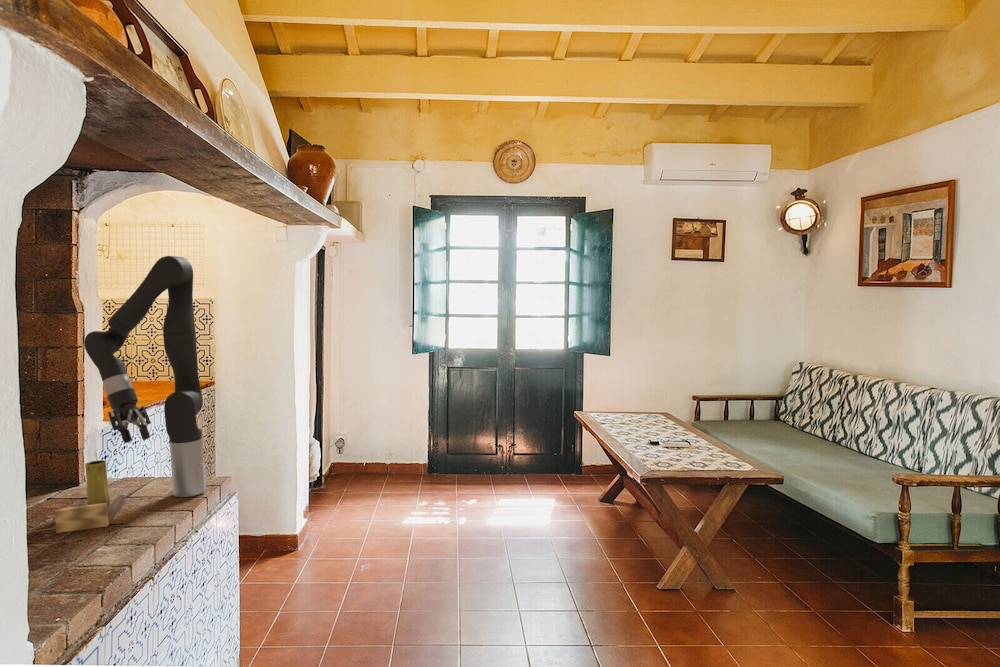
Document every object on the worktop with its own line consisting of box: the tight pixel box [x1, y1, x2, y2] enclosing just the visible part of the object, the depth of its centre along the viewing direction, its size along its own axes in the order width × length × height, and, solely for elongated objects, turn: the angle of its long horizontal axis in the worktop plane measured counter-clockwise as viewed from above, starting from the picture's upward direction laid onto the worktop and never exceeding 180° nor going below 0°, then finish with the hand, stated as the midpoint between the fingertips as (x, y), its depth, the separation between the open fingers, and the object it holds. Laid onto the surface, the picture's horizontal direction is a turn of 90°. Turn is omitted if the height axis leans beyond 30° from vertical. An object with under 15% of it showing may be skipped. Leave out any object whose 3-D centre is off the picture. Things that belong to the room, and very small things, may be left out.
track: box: [54, 494, 126, 534], centre depth 186 cm, size 12×22×6 cm, turn 19°
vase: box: [84, 459, 112, 508], centre depth 193 cm, size 6×6×14 cm
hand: (137, 440), depth 199 cm, fingers open, 8 cm apart
